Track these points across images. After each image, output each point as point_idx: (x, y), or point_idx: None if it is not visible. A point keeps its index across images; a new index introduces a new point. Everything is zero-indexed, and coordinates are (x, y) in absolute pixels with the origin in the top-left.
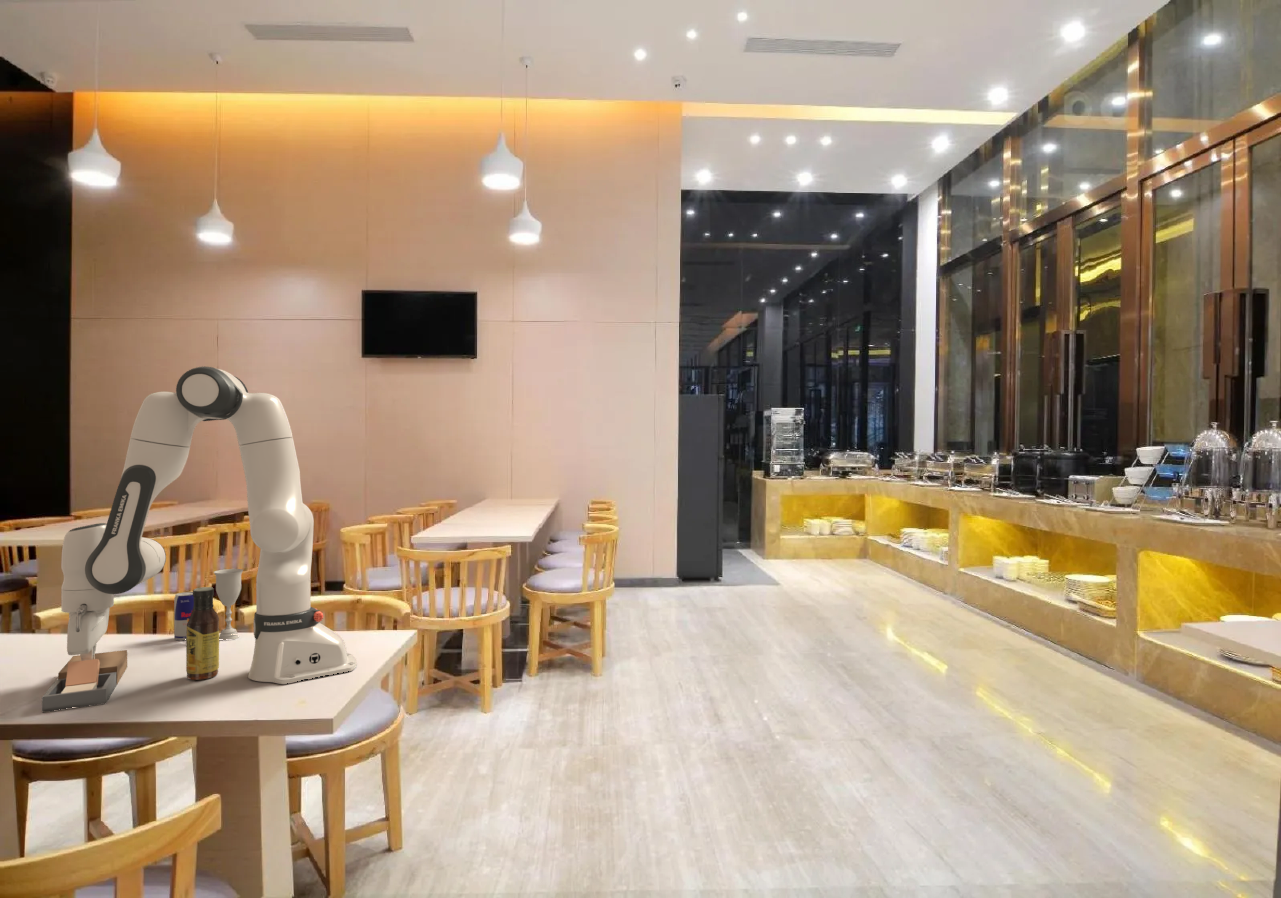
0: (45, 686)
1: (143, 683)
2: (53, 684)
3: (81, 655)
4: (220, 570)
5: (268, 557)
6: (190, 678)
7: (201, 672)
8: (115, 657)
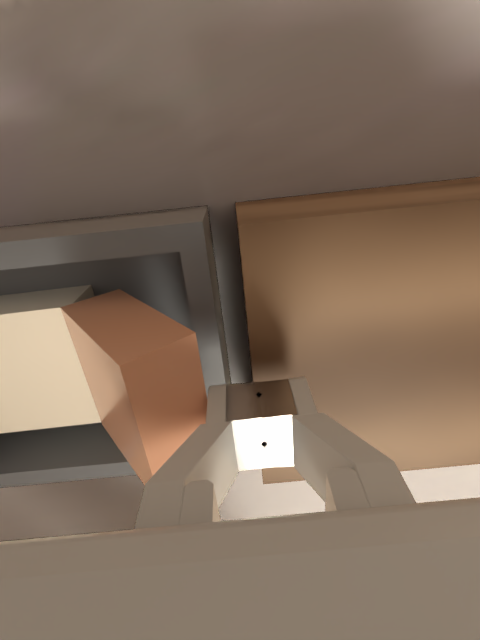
0: (417, 72)
1: (235, 482)
2: (74, 239)
3: (174, 460)
4: None
5: None
6: None
7: None
8: (475, 439)
